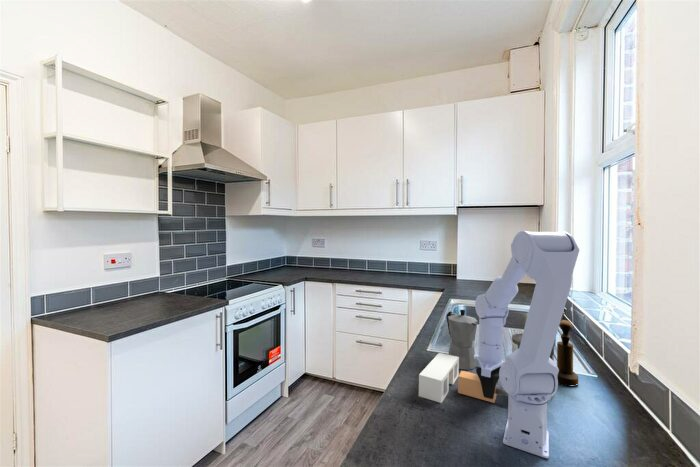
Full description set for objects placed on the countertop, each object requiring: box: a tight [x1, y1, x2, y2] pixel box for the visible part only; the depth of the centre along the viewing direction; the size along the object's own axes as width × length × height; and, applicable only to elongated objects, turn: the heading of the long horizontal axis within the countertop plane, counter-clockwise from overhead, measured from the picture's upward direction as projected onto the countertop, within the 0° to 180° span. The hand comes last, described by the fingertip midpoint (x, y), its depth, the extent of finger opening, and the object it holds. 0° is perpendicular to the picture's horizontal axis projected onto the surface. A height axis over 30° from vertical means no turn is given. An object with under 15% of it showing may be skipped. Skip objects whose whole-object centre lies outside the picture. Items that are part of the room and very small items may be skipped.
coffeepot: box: [445, 309, 479, 371], centre depth 104 cm, size 15×9×18 cm, turn 15°
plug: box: [457, 370, 508, 404], centre depth 82 cm, size 4×13×4 cm, turn 58°
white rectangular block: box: [418, 352, 460, 404], centre depth 89 cm, size 18×6×6 cm, turn 148°
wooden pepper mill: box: [556, 319, 579, 386], centre depth 92 cm, size 7×6×18 cm
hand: (489, 393), depth 82 cm, fingers closed on plug, 4 cm apart
